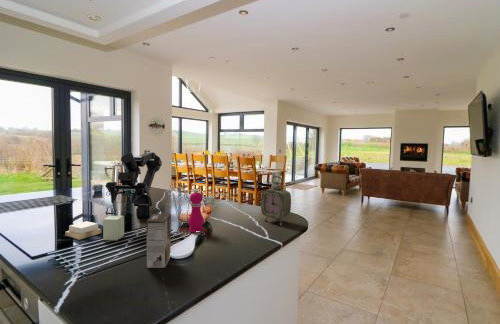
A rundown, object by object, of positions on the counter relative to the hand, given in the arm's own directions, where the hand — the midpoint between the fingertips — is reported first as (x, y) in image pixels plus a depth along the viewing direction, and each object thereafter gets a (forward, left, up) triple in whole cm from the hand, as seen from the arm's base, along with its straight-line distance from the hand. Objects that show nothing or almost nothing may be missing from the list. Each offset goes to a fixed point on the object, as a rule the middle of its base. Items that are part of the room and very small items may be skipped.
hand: (122, 202), depth 127 cm
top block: (+15, -3, -12) cm, 20 cm away
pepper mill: (-31, +12, -14) cm, 36 cm away
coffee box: (-10, +40, -14) cm, 44 cm away
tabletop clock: (-74, +15, -14) cm, 77 cm away
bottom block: (+16, -3, -14) cm, 21 cm away
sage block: (+4, +7, -14) cm, 16 cm away
